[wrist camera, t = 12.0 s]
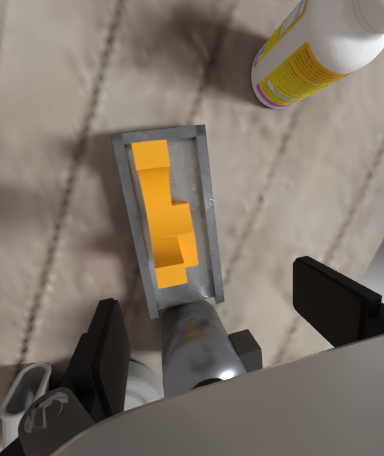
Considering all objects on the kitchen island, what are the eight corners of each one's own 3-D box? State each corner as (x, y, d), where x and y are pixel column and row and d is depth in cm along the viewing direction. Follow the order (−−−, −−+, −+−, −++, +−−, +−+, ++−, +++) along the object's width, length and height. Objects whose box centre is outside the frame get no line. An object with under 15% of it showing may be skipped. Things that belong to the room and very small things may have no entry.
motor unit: (114, 139, 22) (77, 95, 10) (213, 128, 24) (275, 80, 12) (161, 357, 29) (169, 476, 17) (235, 337, 31) (287, 433, 19)
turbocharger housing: (152, 425, 33) (165, 343, 30) (157, 482, 27) (173, 385, 24) (24, 449, 28) (24, 352, 25) (-6, 525, 22) (-11, 409, 19)
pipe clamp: (192, 254, 25) (206, 278, 19) (156, 261, 25) (158, 289, 18) (178, 148, 22) (189, 137, 16) (136, 153, 22) (131, 142, 16)
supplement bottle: (302, 108, 25) (450, 40, 13) (250, 113, 24) (357, 43, 12) (302, 41, 23) (473, -111, 11) (246, 43, 22) (366, -123, 10)
